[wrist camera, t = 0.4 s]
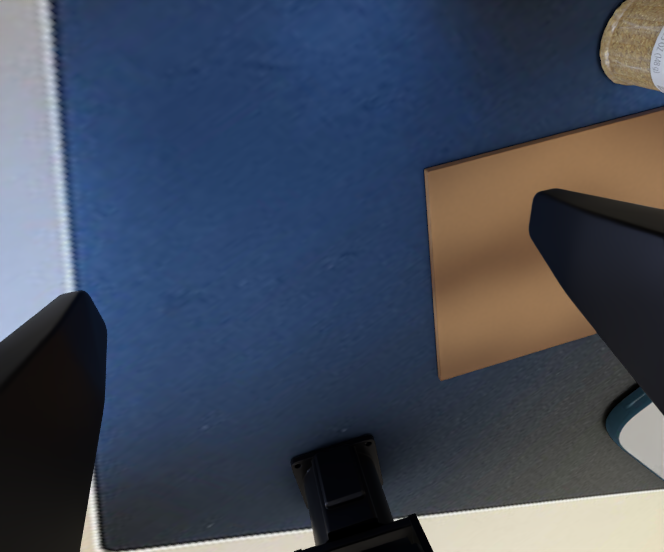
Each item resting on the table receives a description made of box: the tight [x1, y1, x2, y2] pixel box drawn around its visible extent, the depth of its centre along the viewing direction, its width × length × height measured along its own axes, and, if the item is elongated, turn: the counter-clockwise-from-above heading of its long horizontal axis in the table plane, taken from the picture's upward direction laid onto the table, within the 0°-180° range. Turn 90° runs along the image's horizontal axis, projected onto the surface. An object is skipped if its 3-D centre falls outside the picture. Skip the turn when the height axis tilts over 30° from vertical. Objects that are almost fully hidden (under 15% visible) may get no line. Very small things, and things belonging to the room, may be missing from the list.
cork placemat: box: [424, 107, 664, 381], centre depth 30 cm, size 16×22×1 cm
